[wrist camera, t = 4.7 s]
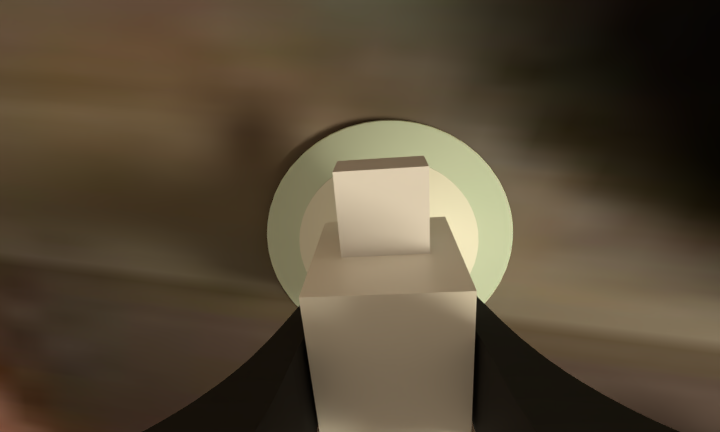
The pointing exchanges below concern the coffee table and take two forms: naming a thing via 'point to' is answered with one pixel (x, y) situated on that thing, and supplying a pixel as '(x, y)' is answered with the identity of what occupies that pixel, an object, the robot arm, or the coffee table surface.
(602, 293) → the coffee table surface
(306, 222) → the coaster
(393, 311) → the connector
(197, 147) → the coffee table surface
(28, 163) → the coffee table surface
